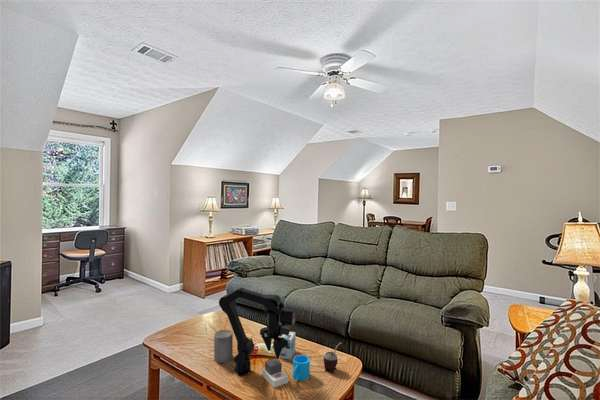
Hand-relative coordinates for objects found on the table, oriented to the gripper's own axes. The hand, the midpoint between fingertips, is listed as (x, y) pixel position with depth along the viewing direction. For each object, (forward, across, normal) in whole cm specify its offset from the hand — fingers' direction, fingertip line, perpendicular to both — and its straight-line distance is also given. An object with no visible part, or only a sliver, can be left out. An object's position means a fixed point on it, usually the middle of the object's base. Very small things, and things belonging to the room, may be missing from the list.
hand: (273, 354), depth 153 cm
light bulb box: (+11, +15, -17) cm, 25 cm away
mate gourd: (+11, -10, -28) cm, 32 cm away
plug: (+10, 0, 0) cm, 11 cm away
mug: (+11, -7, -11) cm, 17 cm away
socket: (+11, -2, 0) cm, 11 cm away
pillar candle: (+11, +29, +15) cm, 35 cm away
